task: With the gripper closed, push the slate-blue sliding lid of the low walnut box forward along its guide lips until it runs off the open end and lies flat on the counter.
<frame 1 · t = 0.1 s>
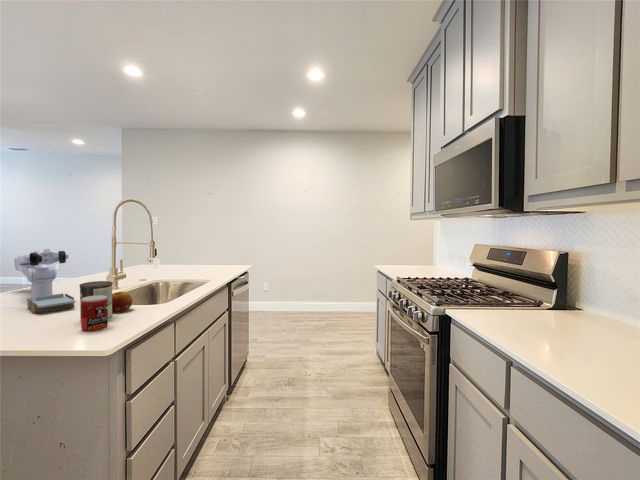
hand: (52, 258, 134), 22 cm above the worktop, tool horizontal, fingers open, 7 cm apart
canned food: (94, 328, 111), on the worktop
lid: (53, 302, 132), point 3 cm above the worktop, touching box
box: (51, 308, 134), on the worktop
coffee can: (96, 319, 120), on the worktop
fruit: (119, 311, 132), on the worktop
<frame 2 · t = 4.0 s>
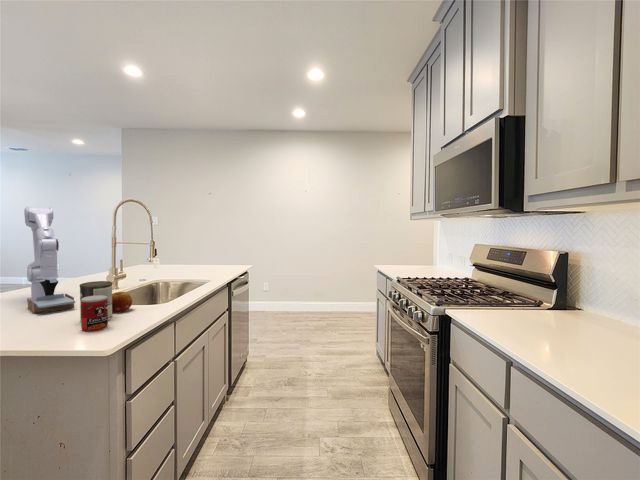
hand: (49, 297, 135), 4 cm above the worktop, tool pointing down, fingers closed
lid: (53, 303, 131), point 3 cm above the worktop
everything else where it was.
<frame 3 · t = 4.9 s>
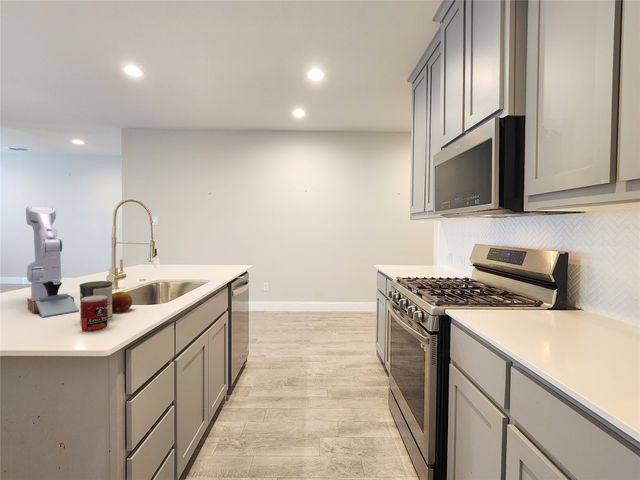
hand: (52, 299, 132), 4 cm above the worktop, tool pointing down, fingers closed
lid: (57, 307, 129), point 2 cm above the worktop, tilted 19°, touching gripper
everything else where it was.
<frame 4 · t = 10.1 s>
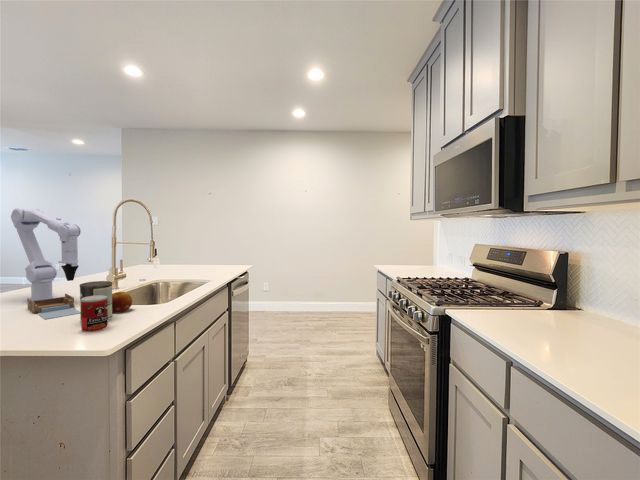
hand: (70, 280, 143), 10 cm above the worktop, tool pointing down, fingers closed
lid: (59, 314, 127), on the worktop
everything else where it was.
at the end: lid inside the target area (8.0 cm from its centre), on the worktop; lid tilted 0°; lid touching worktop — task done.
